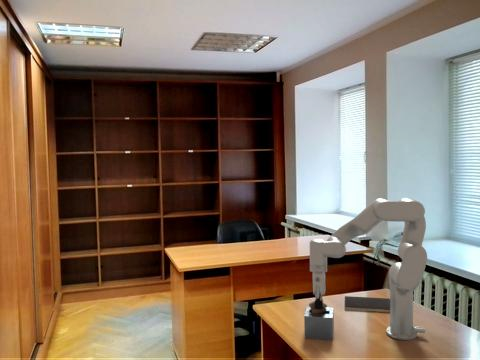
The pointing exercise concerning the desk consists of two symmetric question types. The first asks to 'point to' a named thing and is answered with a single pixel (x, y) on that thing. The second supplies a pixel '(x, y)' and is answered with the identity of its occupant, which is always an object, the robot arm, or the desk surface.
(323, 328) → the slot box
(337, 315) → the desk surface
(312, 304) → the block
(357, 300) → the hardcover book
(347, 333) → the desk surface
